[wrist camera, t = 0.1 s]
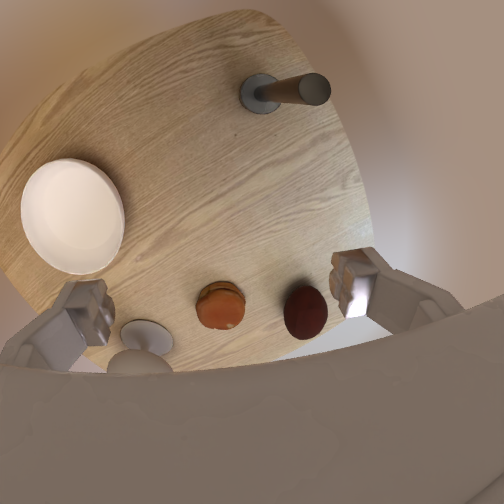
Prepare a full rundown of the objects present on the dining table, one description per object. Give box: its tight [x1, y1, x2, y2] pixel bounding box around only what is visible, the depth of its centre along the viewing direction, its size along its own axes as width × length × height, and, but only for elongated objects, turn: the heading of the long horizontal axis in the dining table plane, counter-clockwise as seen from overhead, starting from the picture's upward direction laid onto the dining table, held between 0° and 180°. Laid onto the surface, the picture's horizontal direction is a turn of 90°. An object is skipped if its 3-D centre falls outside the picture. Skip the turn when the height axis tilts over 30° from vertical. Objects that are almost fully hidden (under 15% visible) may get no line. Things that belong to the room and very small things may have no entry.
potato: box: [284, 286, 328, 340], centre depth 54 cm, size 9×12×9 cm
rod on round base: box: [238, 73, 331, 114], centre depth 27 cm, size 6×6×24 cm
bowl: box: [21, 158, 125, 275], centre depth 39 cm, size 20×20×6 cm
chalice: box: [107, 320, 173, 373], centre depth 52 cm, size 14×14×15 cm
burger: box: [196, 282, 246, 330], centre depth 53 cm, size 10×9×5 cm
